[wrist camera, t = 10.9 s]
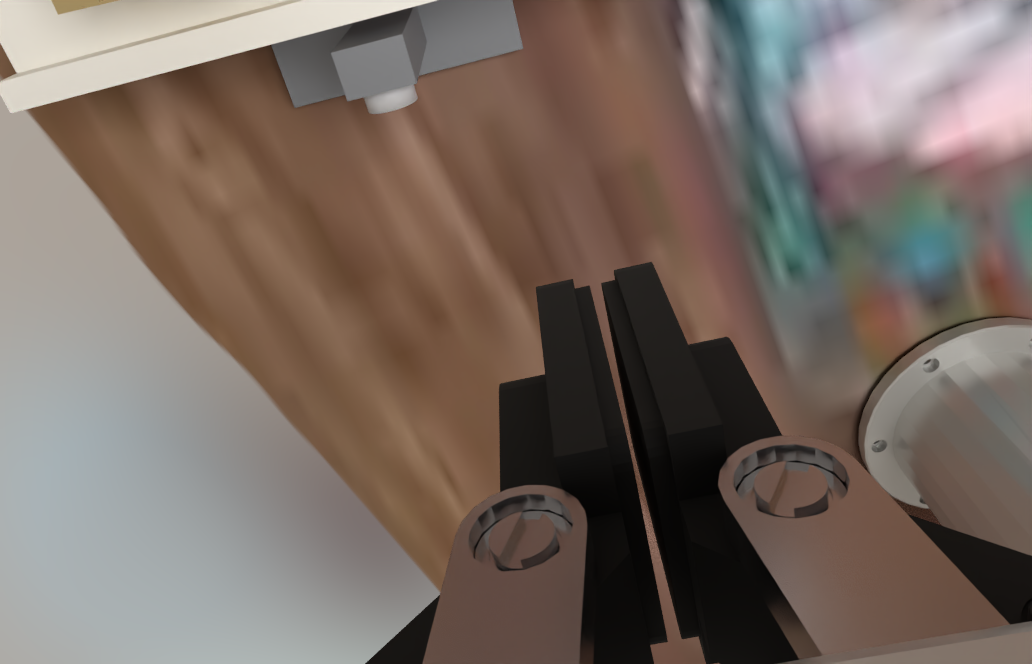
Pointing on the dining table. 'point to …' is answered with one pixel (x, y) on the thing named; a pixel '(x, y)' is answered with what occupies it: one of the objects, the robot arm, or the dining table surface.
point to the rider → (76, 4)
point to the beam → (150, 38)
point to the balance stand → (395, 51)
